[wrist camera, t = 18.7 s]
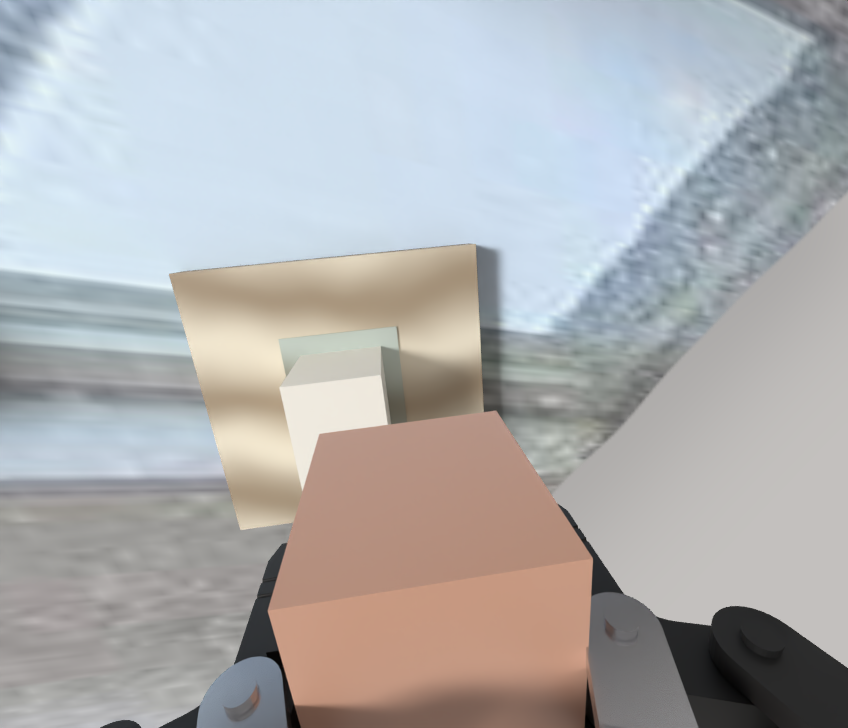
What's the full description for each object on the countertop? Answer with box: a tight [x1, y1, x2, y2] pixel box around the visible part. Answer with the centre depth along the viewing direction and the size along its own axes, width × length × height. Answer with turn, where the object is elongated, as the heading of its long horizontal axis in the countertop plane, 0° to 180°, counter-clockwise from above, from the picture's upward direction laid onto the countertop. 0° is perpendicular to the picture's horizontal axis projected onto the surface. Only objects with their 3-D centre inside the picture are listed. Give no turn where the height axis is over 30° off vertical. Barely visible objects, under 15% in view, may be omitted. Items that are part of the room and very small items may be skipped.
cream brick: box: [279, 346, 391, 491], centre depth 21 cm, size 6×4×5 cm
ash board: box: [169, 244, 484, 530], centre depth 25 cm, size 16×16×2 cm
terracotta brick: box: [268, 411, 593, 728], centre depth 9 cm, size 6×4×5 cm
